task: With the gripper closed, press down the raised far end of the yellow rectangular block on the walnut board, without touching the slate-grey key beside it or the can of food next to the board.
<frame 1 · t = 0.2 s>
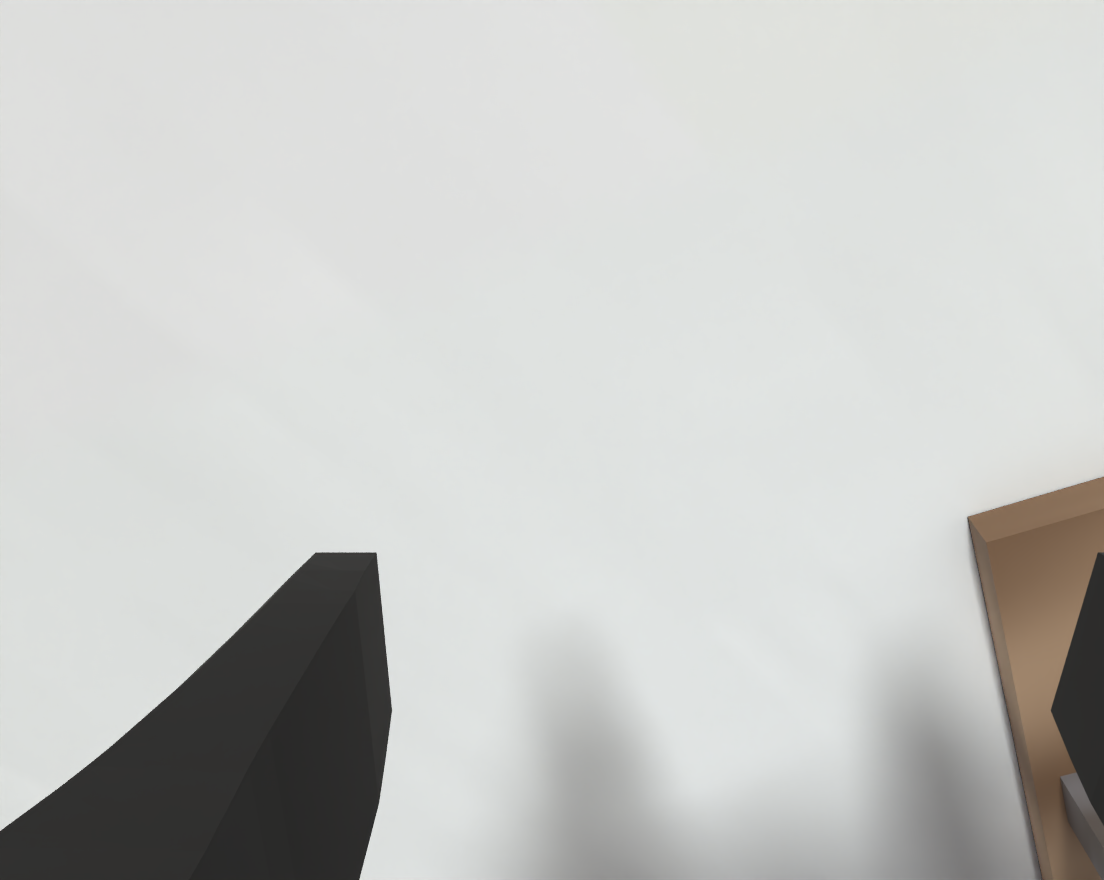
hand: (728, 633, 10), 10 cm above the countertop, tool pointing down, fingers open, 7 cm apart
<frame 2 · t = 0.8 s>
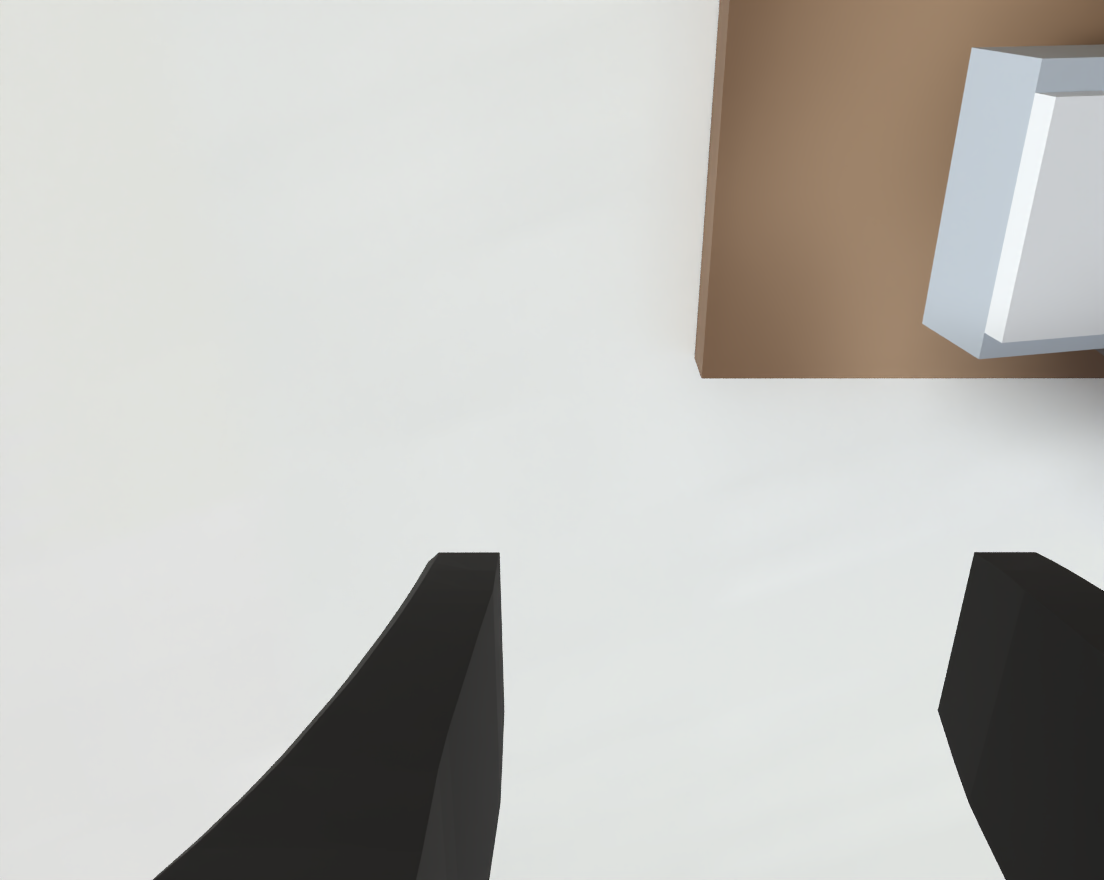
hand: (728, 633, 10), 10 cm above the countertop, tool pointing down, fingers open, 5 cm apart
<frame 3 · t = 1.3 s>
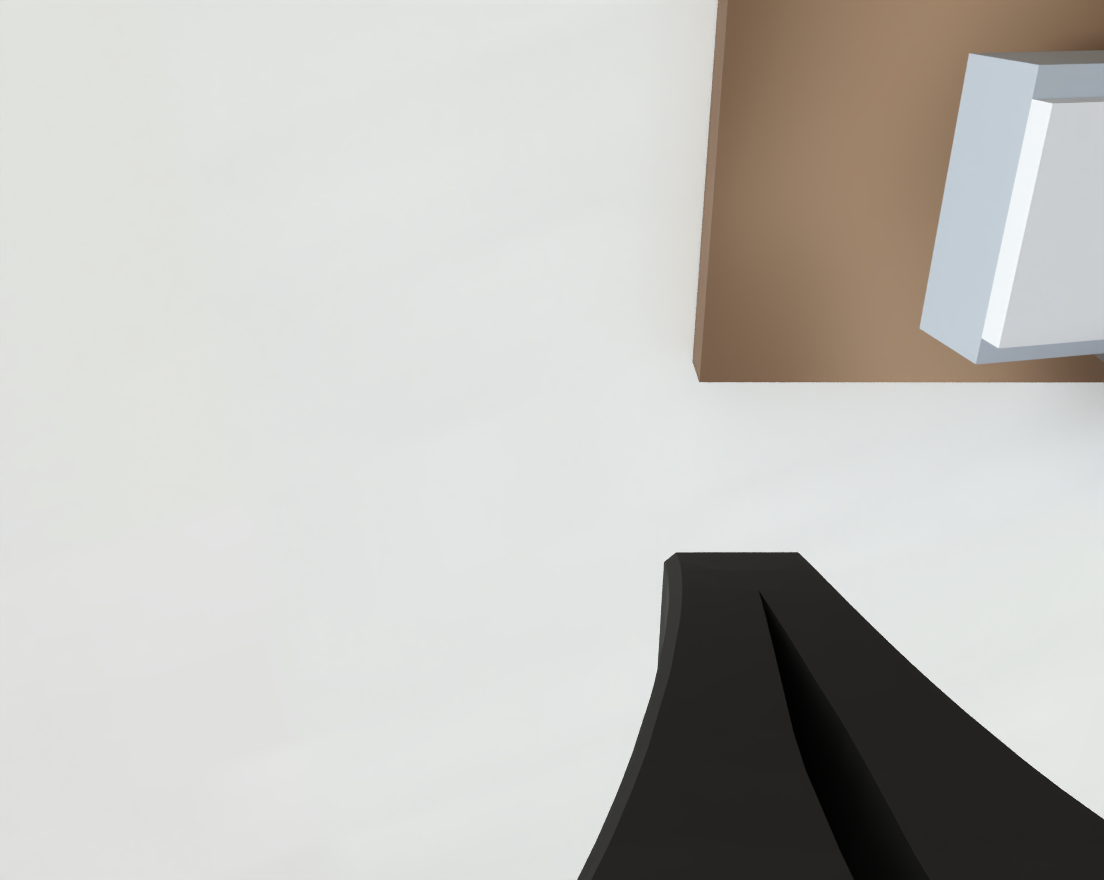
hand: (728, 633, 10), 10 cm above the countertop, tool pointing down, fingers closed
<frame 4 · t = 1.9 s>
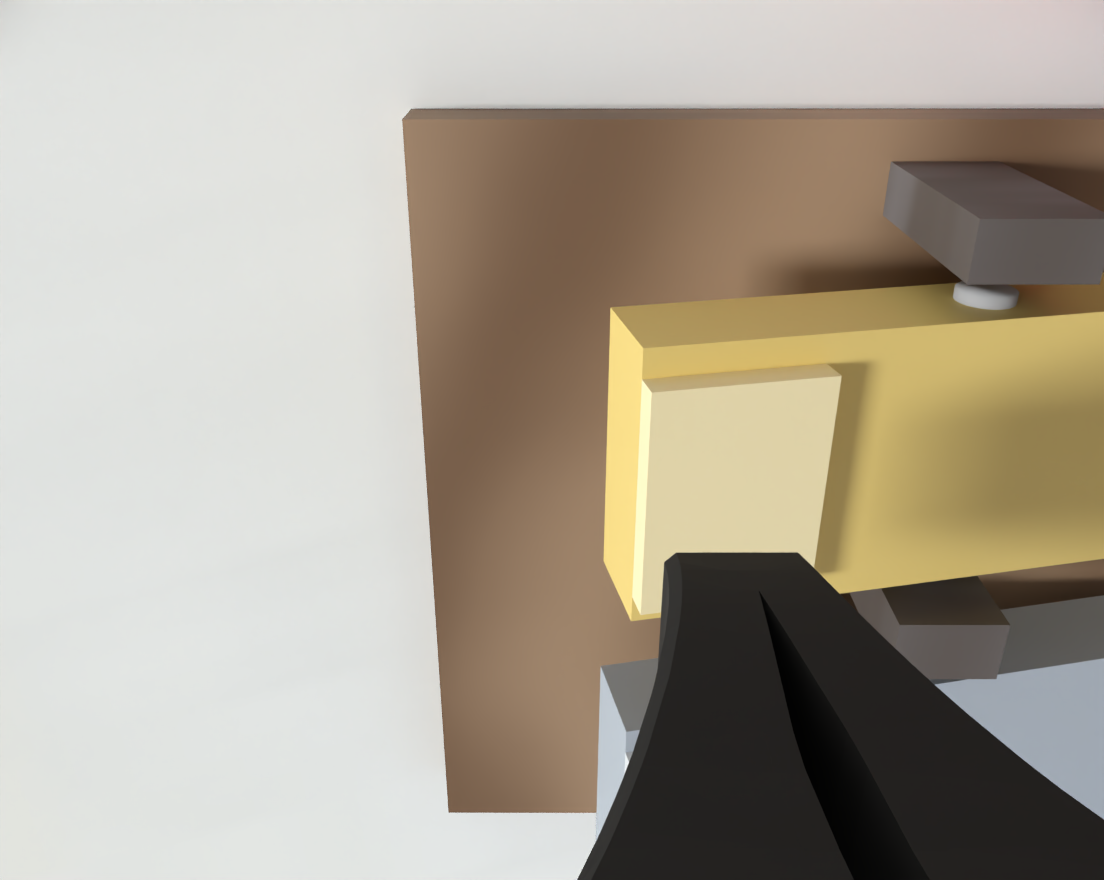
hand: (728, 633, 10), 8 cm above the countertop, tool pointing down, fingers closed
walnut board: (863, 500, 18), on the countertop
yellow rectangular block: (964, 439, 14), point 3 cm above the countertop, hinge at -12.0°
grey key: (897, 754, 17), point 3 cm above the countertop, hinge at -12.0°
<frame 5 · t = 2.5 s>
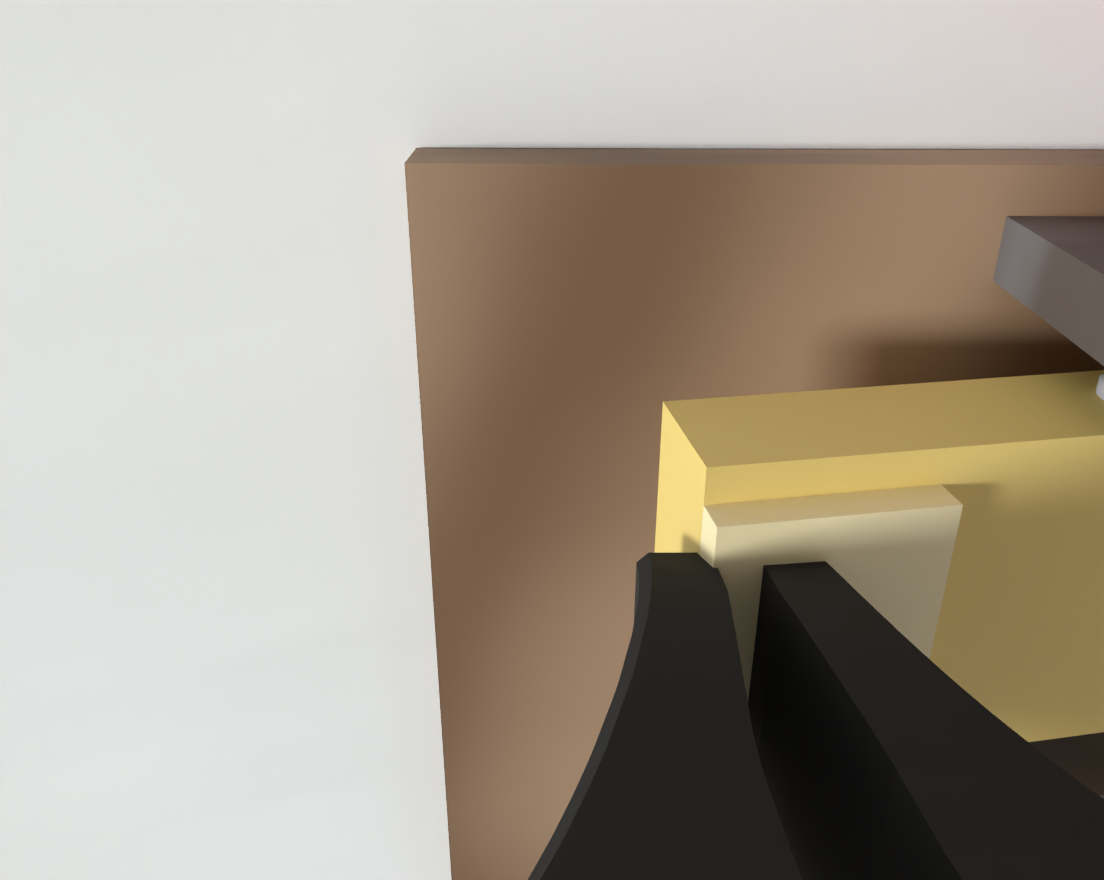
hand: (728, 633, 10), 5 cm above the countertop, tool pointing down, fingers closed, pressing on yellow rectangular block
walnut board: (947, 604, 15), on the countertop
yellow rectangular block: (1102, 565, 11), point 3 cm above the countertop, hinge at -10.5°, touching gripper
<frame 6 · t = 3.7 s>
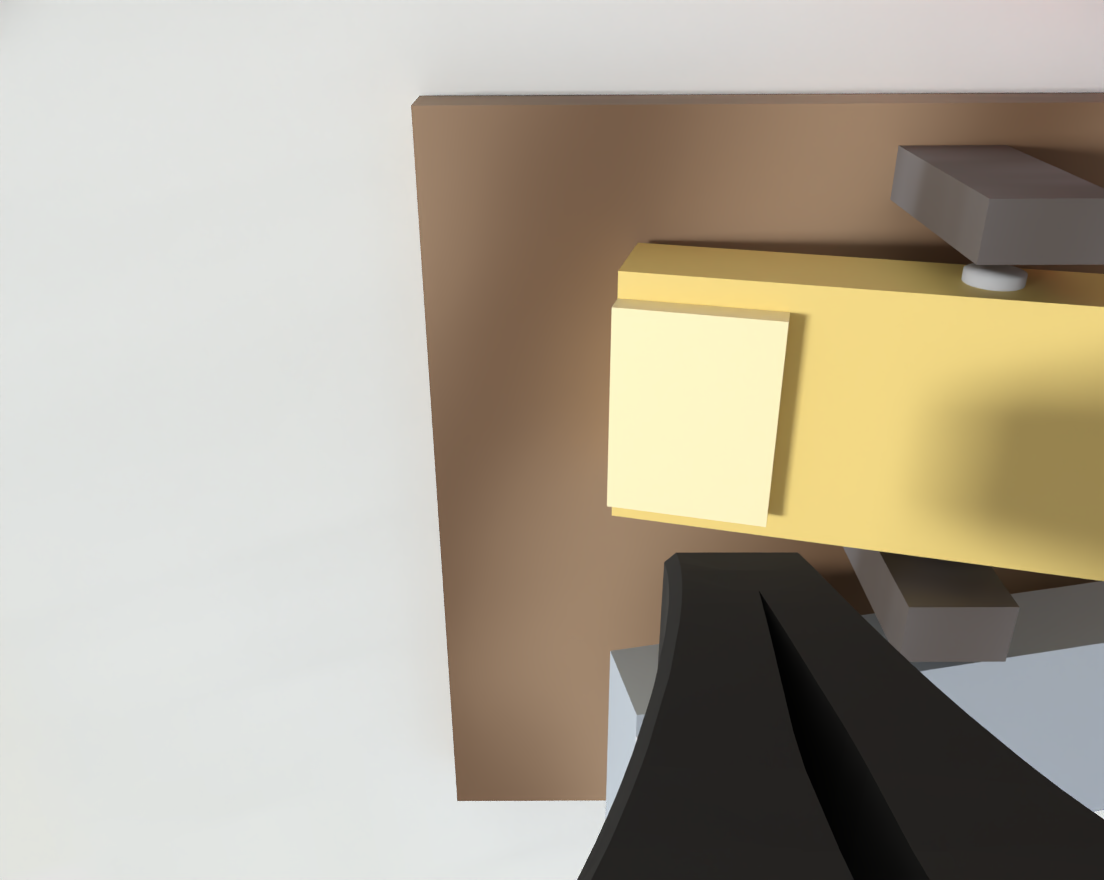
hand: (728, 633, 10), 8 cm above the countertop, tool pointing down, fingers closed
walnut board: (871, 486, 18), on the countertop
yellow rectangular block: (966, 421, 14), point 3 cm above the countertop, hinge at 15.0°
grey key: (906, 739, 17), point 3 cm above the countertop, hinge at -12.0°
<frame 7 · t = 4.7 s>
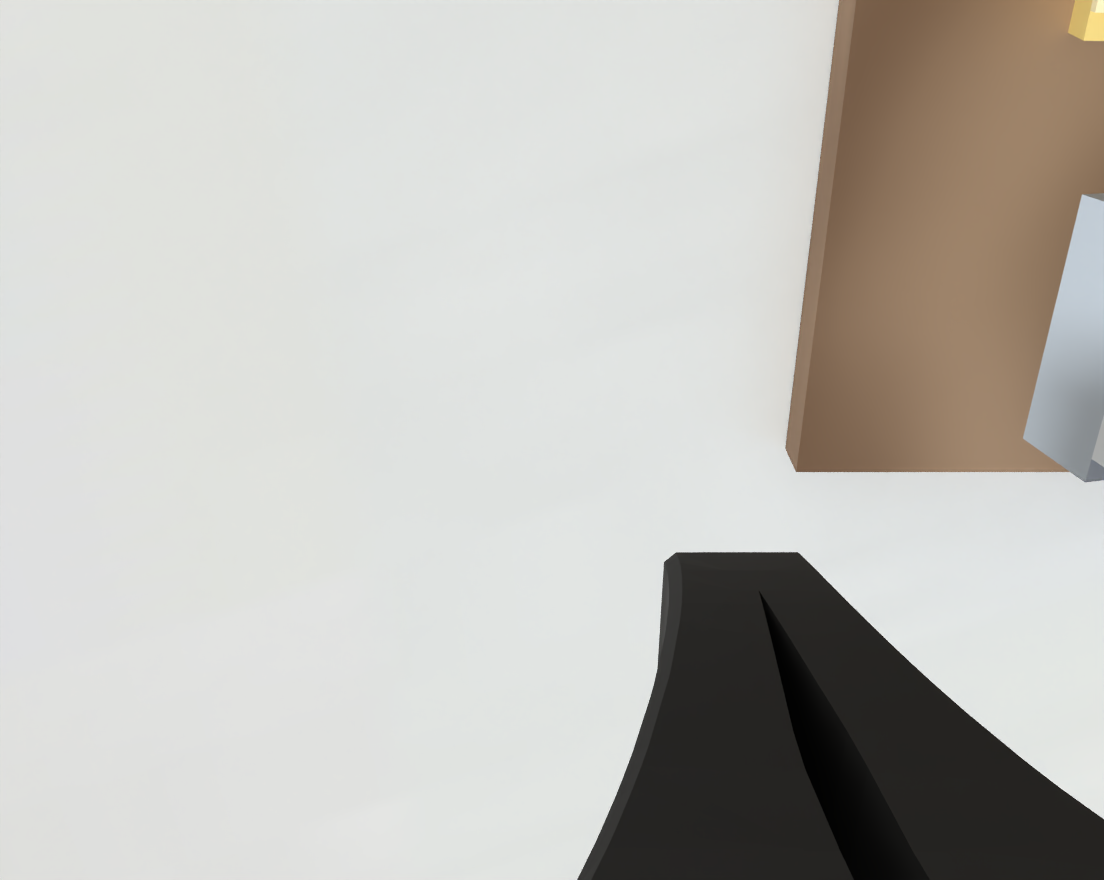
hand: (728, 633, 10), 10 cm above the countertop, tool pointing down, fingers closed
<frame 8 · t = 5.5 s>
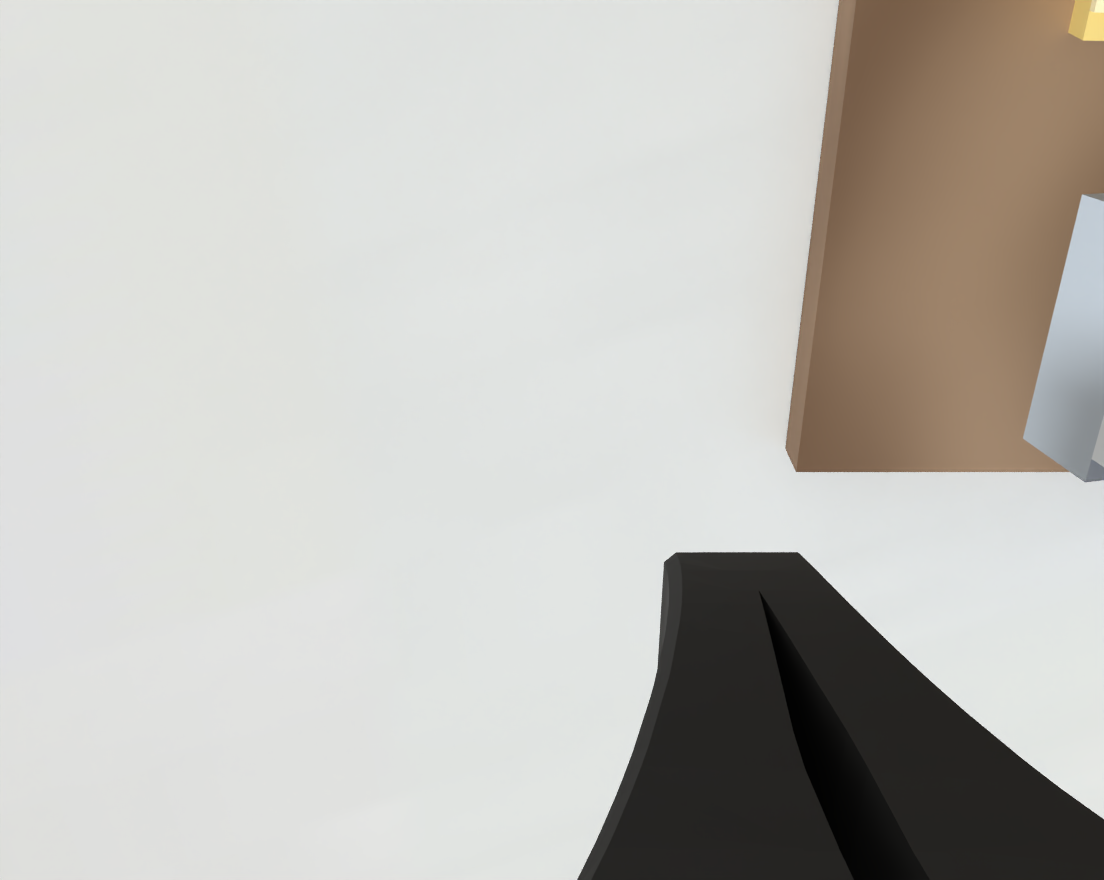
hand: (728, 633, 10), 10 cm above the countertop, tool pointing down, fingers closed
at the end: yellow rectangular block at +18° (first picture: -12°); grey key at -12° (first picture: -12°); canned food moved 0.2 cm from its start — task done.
